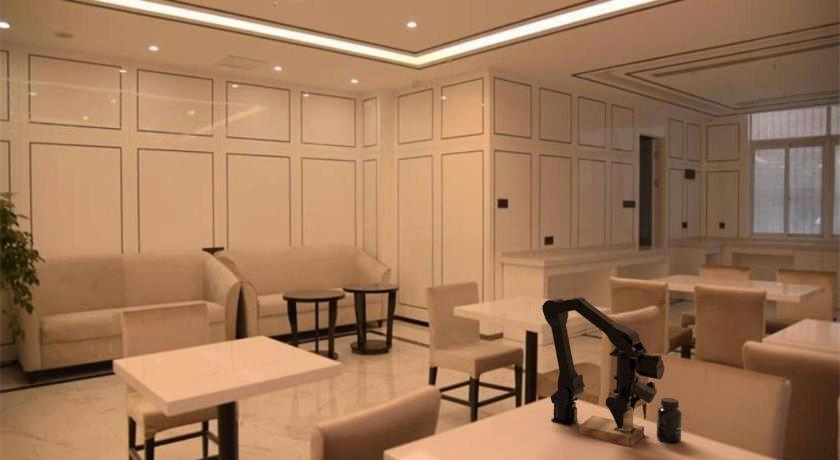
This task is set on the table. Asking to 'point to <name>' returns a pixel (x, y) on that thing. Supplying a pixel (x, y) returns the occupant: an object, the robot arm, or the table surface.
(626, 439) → the board
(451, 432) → the table surface
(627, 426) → the peg
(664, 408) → the supplement bottle
